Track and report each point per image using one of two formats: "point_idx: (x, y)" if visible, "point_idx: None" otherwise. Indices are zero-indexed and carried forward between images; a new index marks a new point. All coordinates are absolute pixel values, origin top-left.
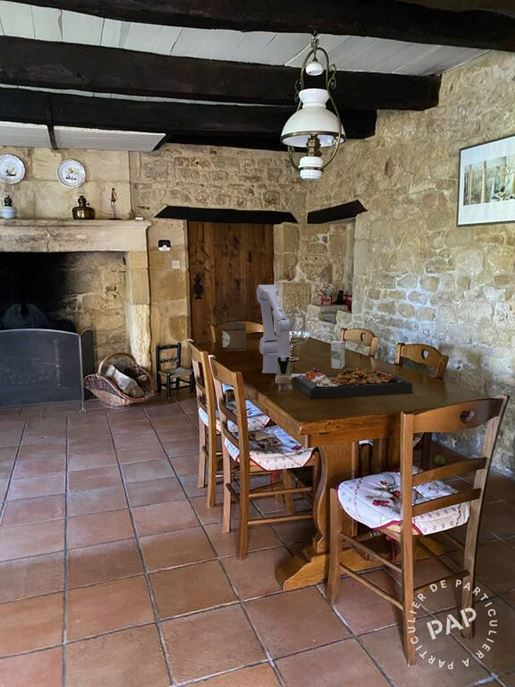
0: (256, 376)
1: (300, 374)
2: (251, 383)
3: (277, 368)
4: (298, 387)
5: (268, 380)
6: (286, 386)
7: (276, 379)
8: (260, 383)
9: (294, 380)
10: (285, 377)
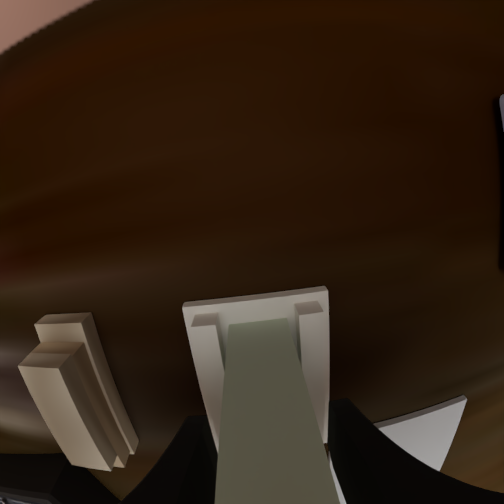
0: (373, 26)
1: (427, 460)
2: (6, 68)
3: (221, 424)
4: (8, 457)
5: (155, 213)
6: (5, 400)
7: (185, 319)
8: (8, 156)
9: (52, 477)
10: (63, 441)
